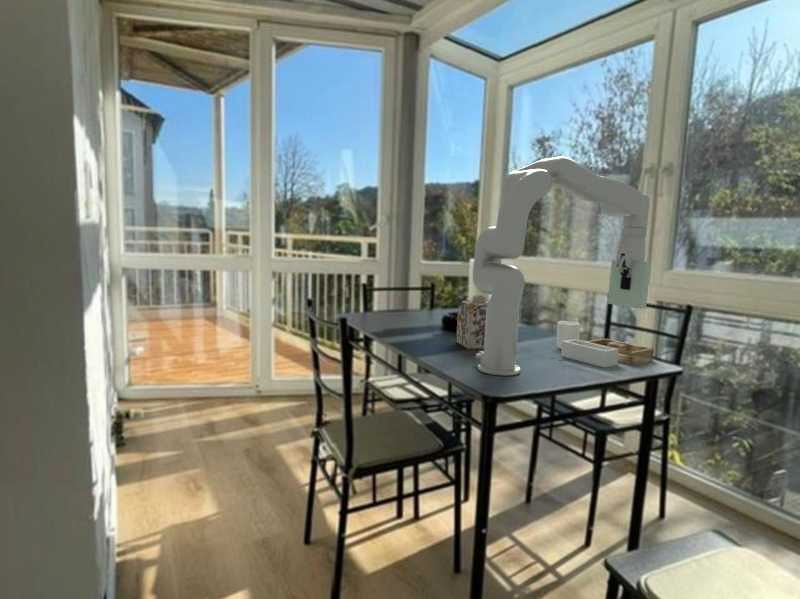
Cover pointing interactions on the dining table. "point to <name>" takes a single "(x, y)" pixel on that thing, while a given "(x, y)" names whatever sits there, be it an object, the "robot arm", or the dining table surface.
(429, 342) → the dining table surface
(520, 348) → the dining table surface
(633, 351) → the rack
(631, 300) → the tall sheet
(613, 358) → the holder
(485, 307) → the decorative jar
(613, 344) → the offcut short
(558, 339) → the white cup
